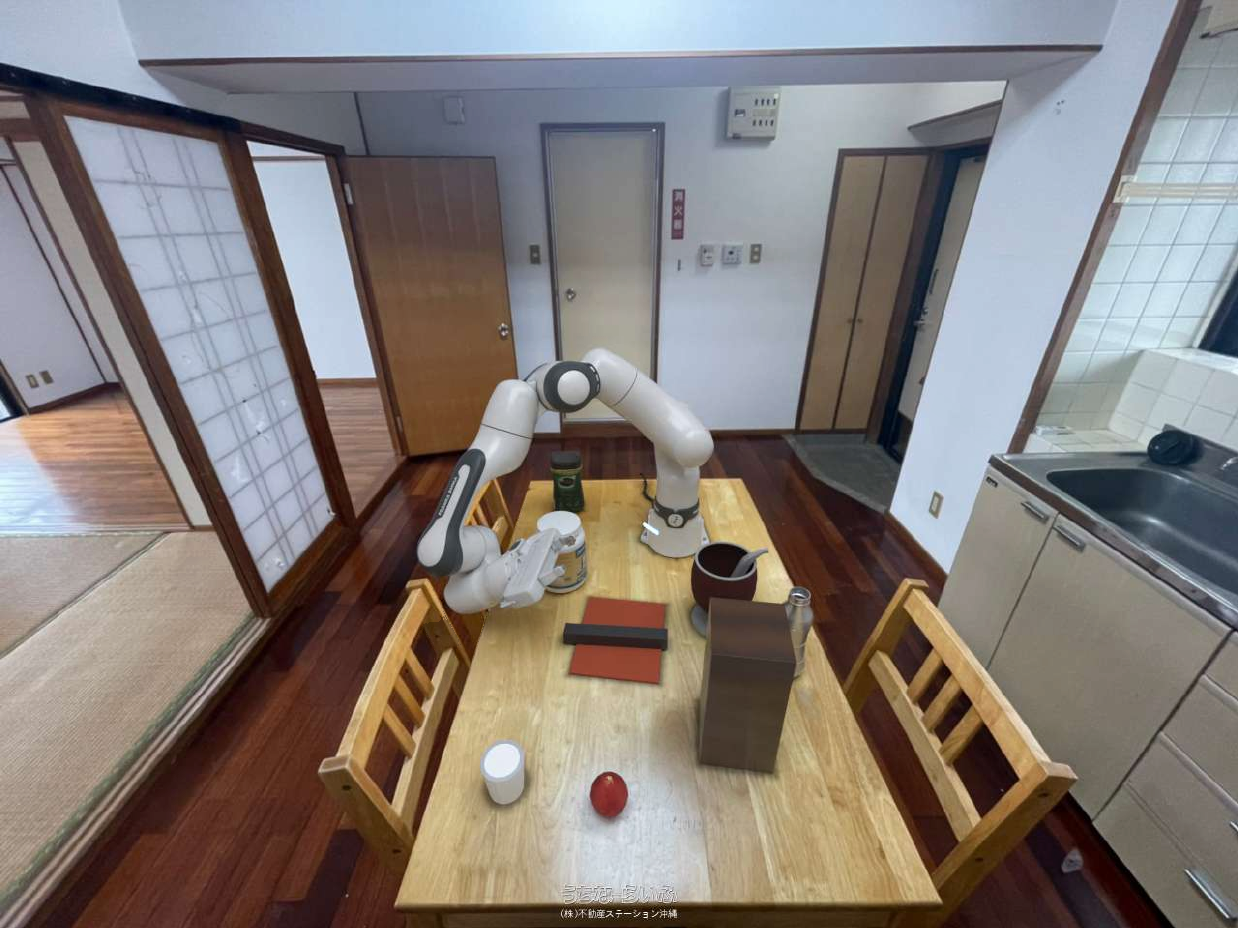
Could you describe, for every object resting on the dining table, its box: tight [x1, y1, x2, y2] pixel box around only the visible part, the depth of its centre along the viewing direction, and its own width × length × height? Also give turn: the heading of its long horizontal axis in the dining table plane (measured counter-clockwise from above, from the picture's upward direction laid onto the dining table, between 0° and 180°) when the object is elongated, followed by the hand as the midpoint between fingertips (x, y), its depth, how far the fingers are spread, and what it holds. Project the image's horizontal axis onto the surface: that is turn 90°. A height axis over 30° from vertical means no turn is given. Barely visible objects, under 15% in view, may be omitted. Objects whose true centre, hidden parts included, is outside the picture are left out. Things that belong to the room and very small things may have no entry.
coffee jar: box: [549, 450, 586, 513], centre depth 154 cm, size 10×8×19 cm
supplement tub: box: [534, 510, 588, 594], centre depth 125 cm, size 12×12×17 cm
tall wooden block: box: [699, 597, 797, 774], centre depth 85 cm, size 12×12×26 cm
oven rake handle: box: [562, 622, 669, 650], centre depth 110 cm, size 3×22×3 cm, turn 85°
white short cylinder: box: [479, 739, 525, 805], centre depth 82 cm, size 7×7×7 cm
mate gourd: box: [690, 540, 769, 638], centre depth 111 cm, size 16×14×20 cm
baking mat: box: [568, 596, 666, 685], centre depth 112 cm, size 22×18×1 cm
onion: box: [589, 771, 629, 818], centre depth 79 cm, size 6×6×8 cm
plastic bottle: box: [781, 586, 815, 678], centre depth 99 cm, size 6×7×20 cm
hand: (569, 552), depth 101 cm, fingers open, 8 cm apart
